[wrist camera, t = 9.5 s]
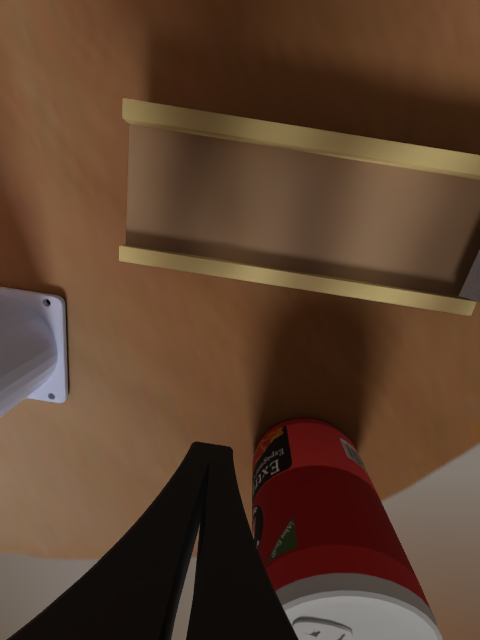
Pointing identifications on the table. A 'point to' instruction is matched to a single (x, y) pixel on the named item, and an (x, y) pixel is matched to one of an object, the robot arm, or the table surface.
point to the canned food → (331, 540)
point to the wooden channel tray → (300, 207)
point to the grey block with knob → (472, 282)
